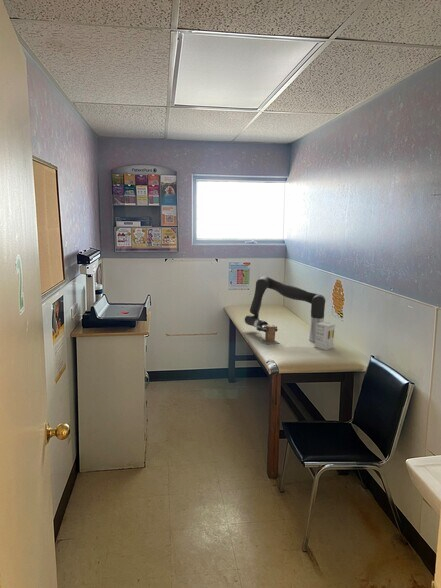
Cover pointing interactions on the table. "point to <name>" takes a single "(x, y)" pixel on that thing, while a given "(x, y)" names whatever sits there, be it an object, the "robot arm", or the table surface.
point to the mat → (270, 342)
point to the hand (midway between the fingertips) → (271, 330)
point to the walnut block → (270, 333)
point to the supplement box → (324, 335)
